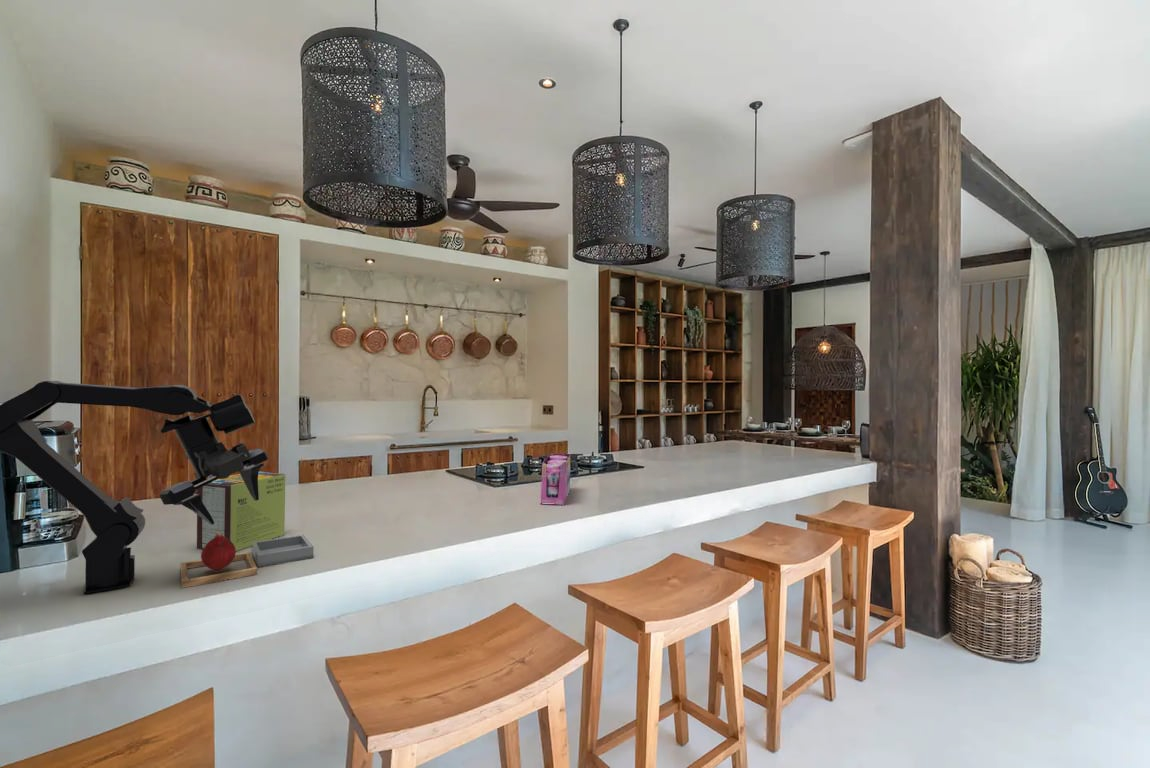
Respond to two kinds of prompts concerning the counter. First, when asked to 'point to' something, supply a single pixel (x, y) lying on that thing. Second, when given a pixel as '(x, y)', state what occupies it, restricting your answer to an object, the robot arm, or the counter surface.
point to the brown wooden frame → (217, 577)
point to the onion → (218, 553)
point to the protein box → (243, 510)
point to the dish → (281, 550)
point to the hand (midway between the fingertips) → (235, 511)
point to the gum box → (555, 478)
